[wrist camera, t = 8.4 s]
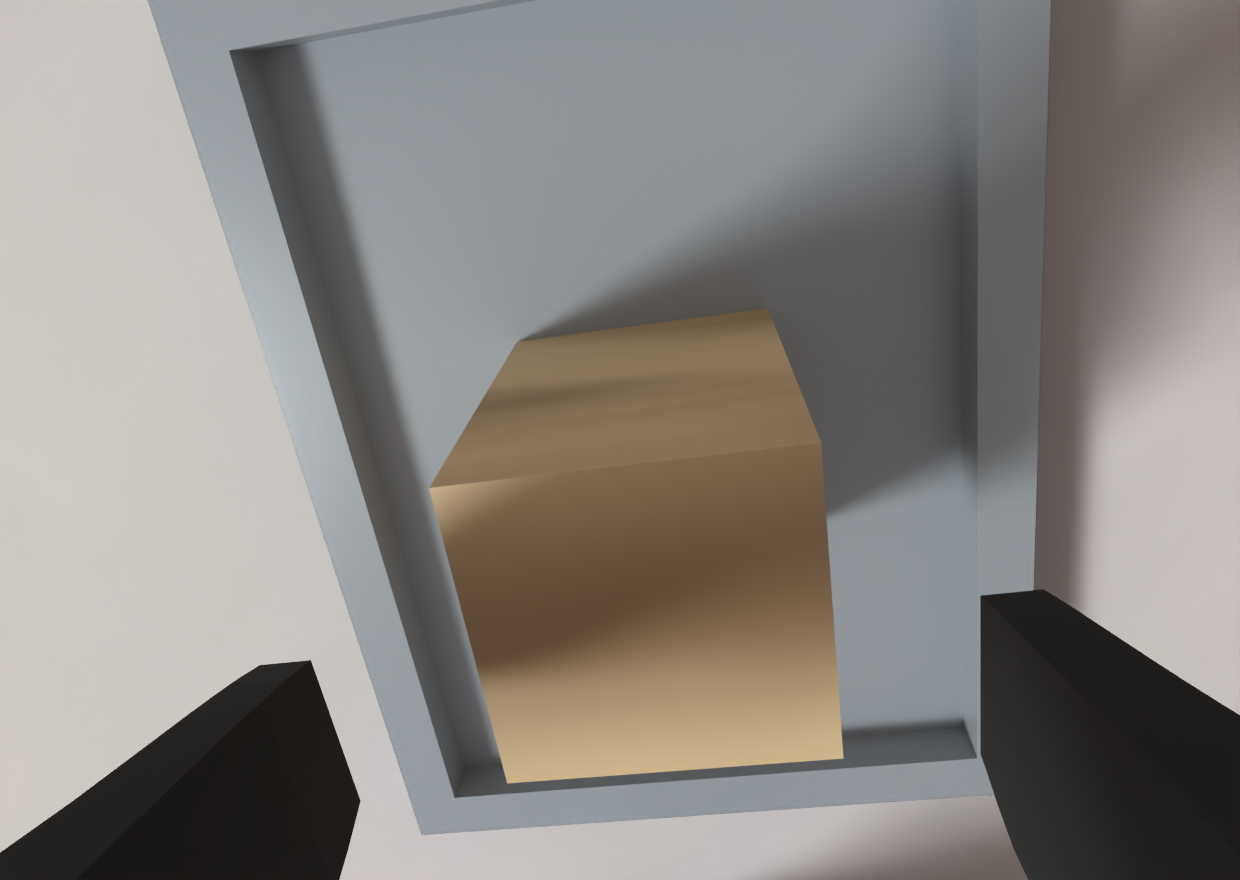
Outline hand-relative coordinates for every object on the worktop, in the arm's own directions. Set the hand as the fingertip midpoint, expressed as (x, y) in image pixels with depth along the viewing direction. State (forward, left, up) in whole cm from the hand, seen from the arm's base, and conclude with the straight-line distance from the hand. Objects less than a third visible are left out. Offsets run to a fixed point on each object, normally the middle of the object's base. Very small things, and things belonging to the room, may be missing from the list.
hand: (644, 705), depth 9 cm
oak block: (0, 0, -7) cm, 7 cm away
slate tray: (0, 0, -8) cm, 8 cm away
